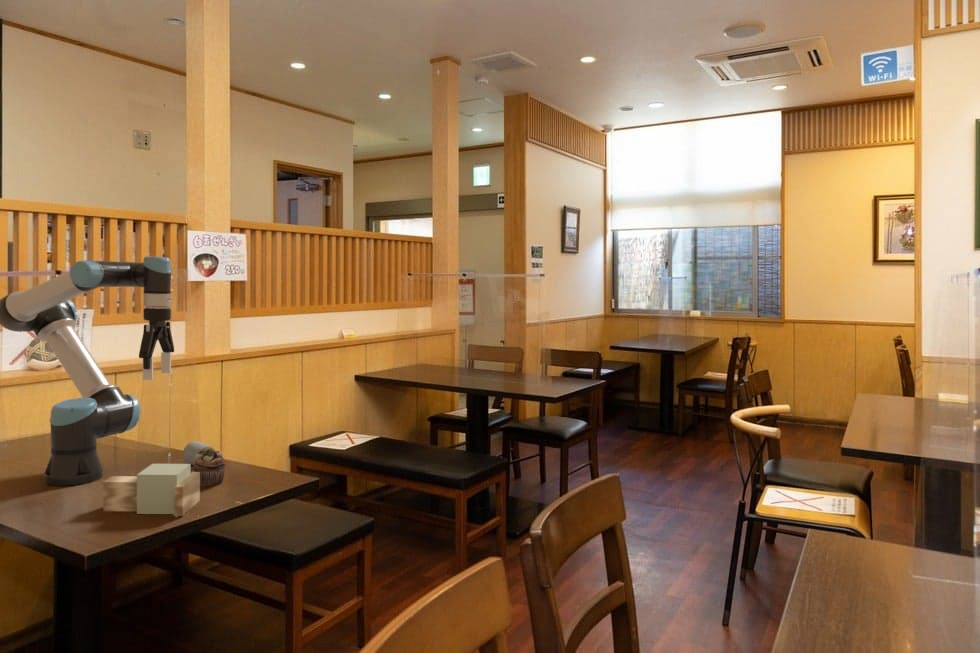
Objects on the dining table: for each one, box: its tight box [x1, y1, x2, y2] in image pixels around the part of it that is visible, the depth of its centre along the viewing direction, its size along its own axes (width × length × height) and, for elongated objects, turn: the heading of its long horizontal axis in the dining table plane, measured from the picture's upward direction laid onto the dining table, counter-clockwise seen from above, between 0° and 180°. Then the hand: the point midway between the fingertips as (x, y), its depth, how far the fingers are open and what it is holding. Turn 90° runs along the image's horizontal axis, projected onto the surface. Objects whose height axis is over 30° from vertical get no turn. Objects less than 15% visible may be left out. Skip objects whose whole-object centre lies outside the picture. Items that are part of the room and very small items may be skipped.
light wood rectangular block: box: [102, 475, 137, 512], centre depth 177 cm, size 16×5×8 cm, turn 95°
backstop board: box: [174, 471, 201, 517], centre depth 178 cm, size 2×13×8 cm, turn 5°
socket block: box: [136, 463, 192, 515], centre depth 178 cm, size 10×10×11 cm
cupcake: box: [191, 449, 227, 487], centre depth 200 cm, size 10×10×10 cm
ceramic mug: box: [182, 440, 216, 466], centre depth 218 cm, size 11×8×8 cm
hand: (157, 376), depth 204 cm, fingers open, 13 cm apart
